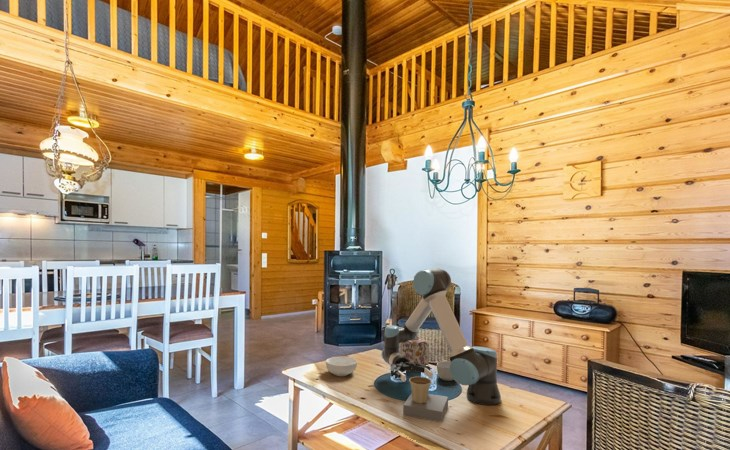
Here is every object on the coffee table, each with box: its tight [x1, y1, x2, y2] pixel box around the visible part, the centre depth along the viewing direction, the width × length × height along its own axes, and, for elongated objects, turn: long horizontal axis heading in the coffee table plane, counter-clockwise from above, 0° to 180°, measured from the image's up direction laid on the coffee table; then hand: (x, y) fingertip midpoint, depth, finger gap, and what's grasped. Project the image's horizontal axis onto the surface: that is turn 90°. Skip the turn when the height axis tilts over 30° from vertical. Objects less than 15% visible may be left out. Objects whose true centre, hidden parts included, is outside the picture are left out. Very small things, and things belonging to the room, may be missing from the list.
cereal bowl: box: [325, 355, 358, 377], centre depth 207 cm, size 17×17×7 cm
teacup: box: [436, 359, 455, 382], centre depth 203 cm, size 14×11×8 cm
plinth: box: [402, 392, 449, 423], centre depth 164 cm, size 16×16×4 cm
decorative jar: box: [400, 334, 430, 369], centre depth 220 cm, size 12×12×18 cm
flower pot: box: [408, 376, 432, 404], centre depth 164 cm, size 9×9×9 cm
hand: (418, 377), depth 171 cm, fingers open, 13 cm apart
